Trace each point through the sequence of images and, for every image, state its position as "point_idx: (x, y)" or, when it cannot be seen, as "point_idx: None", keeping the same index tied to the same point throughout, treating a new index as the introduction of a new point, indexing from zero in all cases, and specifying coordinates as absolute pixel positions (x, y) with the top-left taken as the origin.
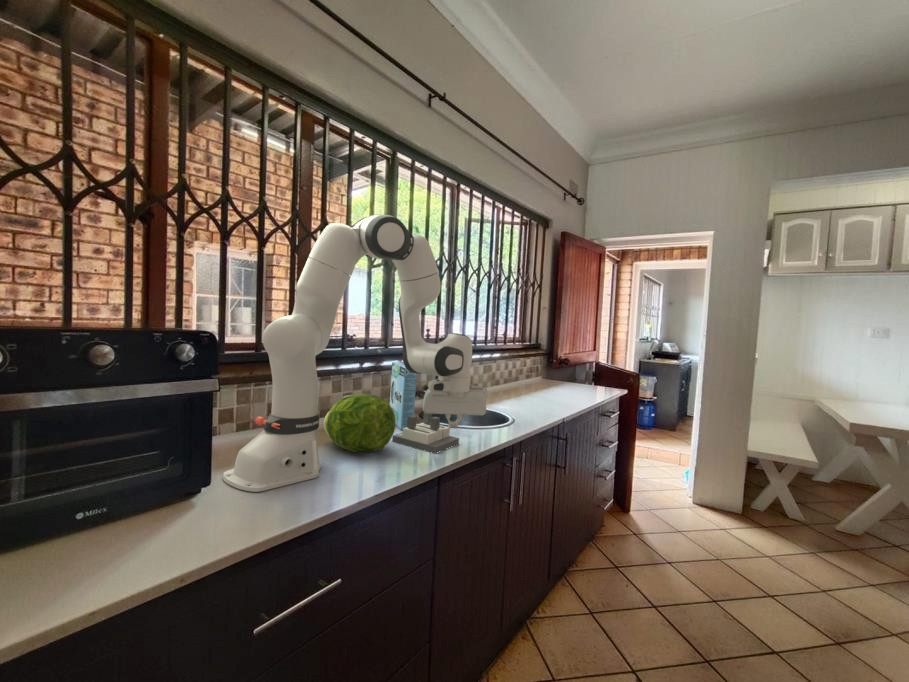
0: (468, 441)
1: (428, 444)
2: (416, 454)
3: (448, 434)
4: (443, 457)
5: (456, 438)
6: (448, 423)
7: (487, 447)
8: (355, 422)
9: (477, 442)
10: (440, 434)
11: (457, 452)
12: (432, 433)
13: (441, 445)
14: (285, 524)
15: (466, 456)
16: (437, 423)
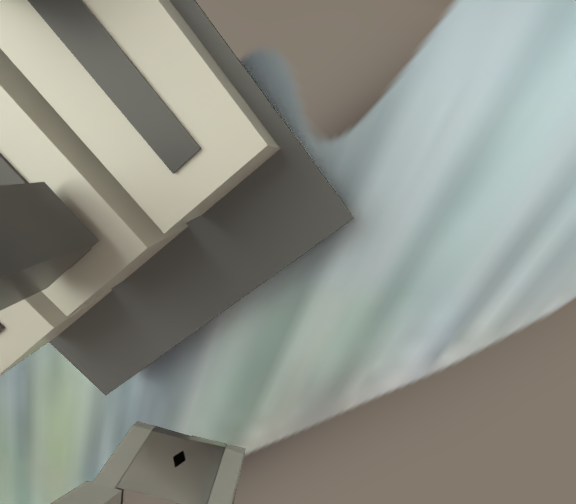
0: (473, 146)
1: (64, 339)
2: (28, 358)
3: (264, 159)
4: (166, 419)
5: (325, 225)
6: (111, 457)
7: (539, 312)
8: None
9: (541, 183)
10: (144, 257)
11: (270, 367)
12: (29, 348)
13: (154, 359)
14: None
15: (297, 429)
16: (5, 295)
